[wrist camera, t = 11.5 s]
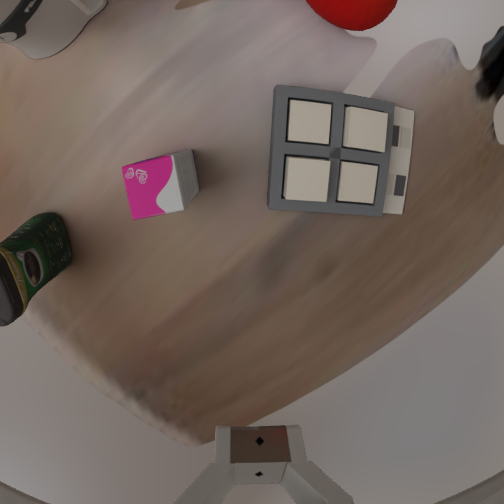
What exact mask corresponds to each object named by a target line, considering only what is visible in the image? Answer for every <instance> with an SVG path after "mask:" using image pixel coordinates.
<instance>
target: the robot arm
mask: <svg viewBox="0 0 504 504" xmlns="http://www.w3.org/2000/svg"><path fill="white" fill-rule="evenodd" d="M106 3H107V0H0V43H9V44H11V45H13V46H15V47H16V48H18V49H19V50H21V51H22V52H23V53H24V54H25V55H26V56H28V57H30V58H33V59H42V58H46V57H49V56H52V55H54V54H56V53H58V52H59V51H61V50H62V49H64V48H65V47H66V46H67V45H68V44H70V43H71V42H72V41H73V40H74V39H75V38H76V36H77V35H78V34H79V33H80V31H81V30H82V29H83V27H84V26H85V25H86V23H87V22H88V21H89V20H90V19H91V18H92V17H93V16H95V15H96V14H97V13H99V12H100V11H101V10H102V9H103V8H104V7H105V6H106ZM236 484H280V485H281V486H282V487H283V488H284V490H285V491H286V492H287V493H288V494H289V496H290V497H291V498H292V499H293V500H294V501H295V502H296V504H354V503H353V499H352V497H351V496H350V495H349V494H348V493H346V492H345V491H344V490H343V489H342V488H341V487H340V486H338V485H337V484H336V483H335V482H334V481H333V480H332V479H331V478H329V477H328V476H327V475H326V474H325V473H324V472H323V471H322V470H321V469H320V468H318V467H317V466H316V465H315V464H314V463H313V462H312V461H307V458H306V453H305V448H304V442H303V437H302V432H301V427H300V426H299V425H291V426H285V425H282V426H259V427H241V426H231V429H230V426H216V433H215V456H214V463H209V465H208V466H207V467H206V468H205V469H204V470H203V471H202V472H201V474H200V475H199V476H198V477H197V478H196V479H195V480H194V482H193V483H192V484H191V485H190V486H189V487H188V488H187V489H186V490H185V491H184V492H183V493H182V494H181V495H180V497H179V498H178V499H177V500H176V501H175V502H174V503H173V504H222V502H223V501H224V500H225V498H226V497H227V495H228V494H229V493H230V491H231V490H232V488H233V487H234V485H236ZM0 504H49V503H46V502H43V501H41V500H39V499H36V498H34V497H32V496H30V495H27V494H25V493H23V492H21V491H19V490H16V489H15V488H13V487H10V486H8V485H6V484H4V483H3V482H1V481H0ZM434 504H504V470H503V471H501V472H499V473H497V474H496V475H494V476H492V477H490V478H488V479H487V480H485V481H483V482H481V483H479V484H477V485H475V486H473V487H471V488H469V489H467V490H464V491H462V492H460V493H458V494H456V495H453V496H451V497H449V498H446V499H444V500H442V501H439V502H437V503H434Z"/></svg>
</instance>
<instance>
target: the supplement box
mask: <svg viewBox="0 0 504 504" xmlns="http://www.w3.org/2000/svg"><path fill="white" fill-rule="evenodd" d="M122 173H123V177H124V182H125V186H126V191H127V196H128V200H129V205H130V209H131V214H132V218H133V220H136V219H142V218H147V217H153V216H158V215H163V214H168V213H173V212H178V211H183V210H185V209H186V207H187V206H188V205H189V203H190V202H191V201H192V200H193V198H194V197H195V196H196V194H197V193H198V192H199V191H200V190H199V184H198V178H197V173H196V167H195V161H194V155H193V150H186V151H181V152H176V153H172V154H167V155H163V156H159V157H155V158H150V159H147V160H143V161H140V162H136V163H133V164H130V165H126V166H123V167H122Z"/></svg>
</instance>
